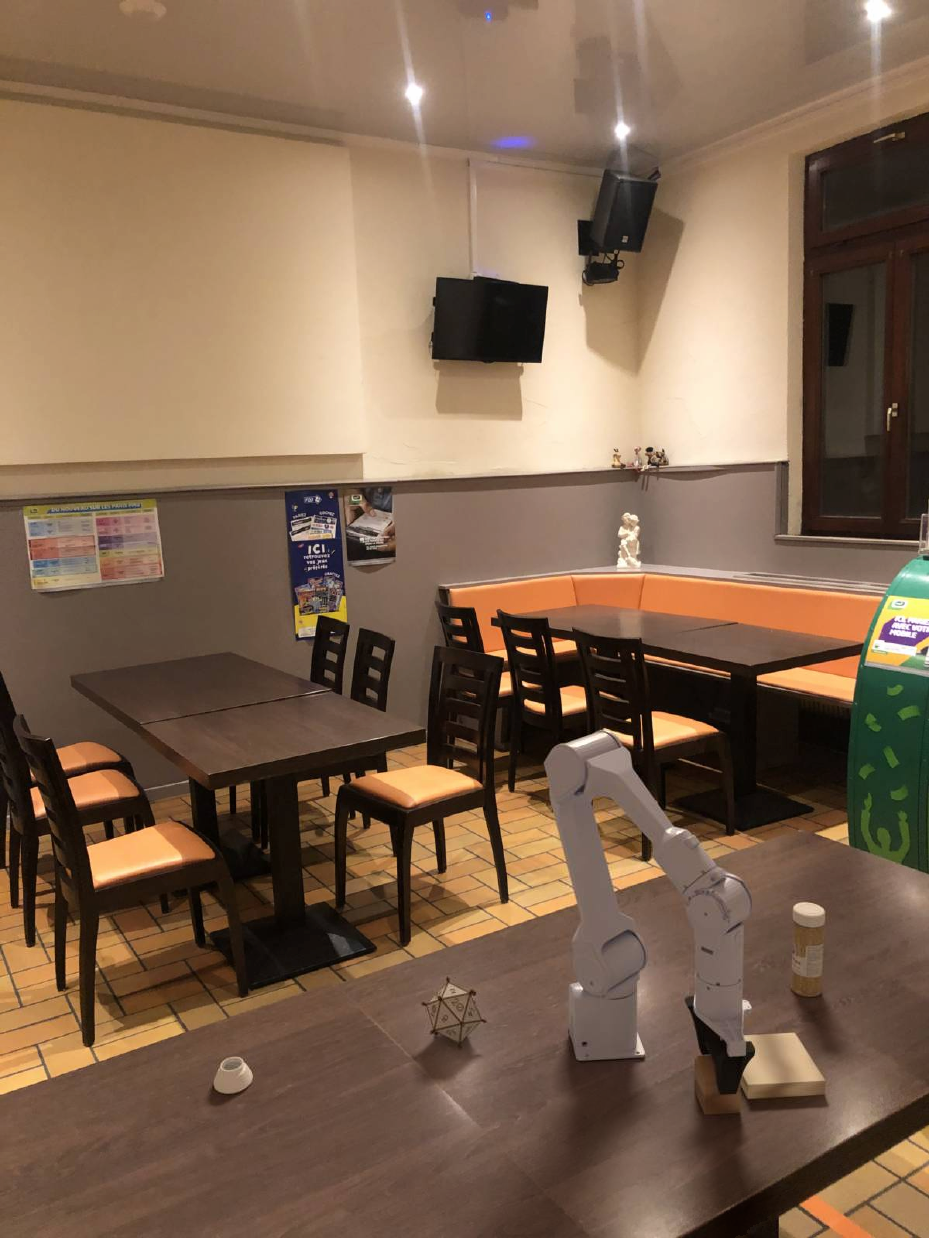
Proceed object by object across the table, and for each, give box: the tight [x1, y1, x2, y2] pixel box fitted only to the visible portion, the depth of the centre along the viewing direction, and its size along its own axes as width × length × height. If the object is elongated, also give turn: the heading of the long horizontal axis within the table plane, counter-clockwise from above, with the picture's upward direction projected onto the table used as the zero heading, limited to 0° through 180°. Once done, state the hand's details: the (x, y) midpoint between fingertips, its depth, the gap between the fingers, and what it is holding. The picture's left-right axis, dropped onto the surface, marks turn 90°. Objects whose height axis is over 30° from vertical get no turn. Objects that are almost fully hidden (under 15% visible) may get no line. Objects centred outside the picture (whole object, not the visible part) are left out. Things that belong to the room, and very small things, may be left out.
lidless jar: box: [213, 1056, 254, 1095], centre depth 125 cm, size 5×3×5 cm
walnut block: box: [693, 1055, 742, 1115], centre depth 118 cm, size 4×4×5 cm
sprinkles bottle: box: [790, 901, 826, 998], centre depth 140 cm, size 5×5×14 cm
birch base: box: [741, 1032, 826, 1100], centre depth 123 cm, size 10×10×2 cm
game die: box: [420, 975, 488, 1051], centre depth 132 cm, size 9×8×10 cm
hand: (717, 1072), depth 118 cm, fingers open, 7 cm apart
